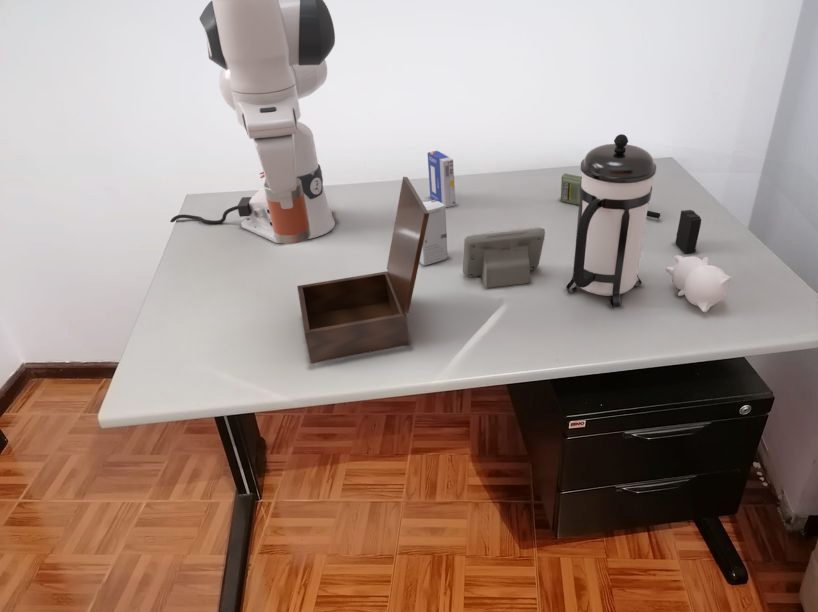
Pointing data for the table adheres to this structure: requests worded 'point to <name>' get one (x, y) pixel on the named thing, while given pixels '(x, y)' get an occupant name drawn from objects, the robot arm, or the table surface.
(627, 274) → the coffee press
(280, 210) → the can
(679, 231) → the ink cartridge
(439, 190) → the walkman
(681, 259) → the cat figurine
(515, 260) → the digital clock
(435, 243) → the cosmetic box
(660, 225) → the table surface
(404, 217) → the lid
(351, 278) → the chest
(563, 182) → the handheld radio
